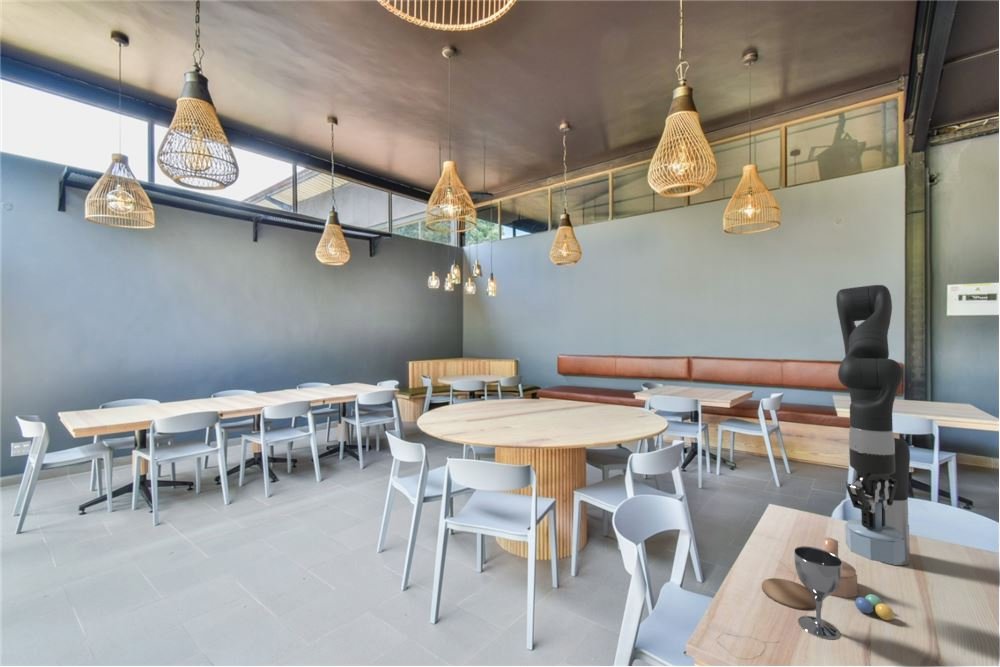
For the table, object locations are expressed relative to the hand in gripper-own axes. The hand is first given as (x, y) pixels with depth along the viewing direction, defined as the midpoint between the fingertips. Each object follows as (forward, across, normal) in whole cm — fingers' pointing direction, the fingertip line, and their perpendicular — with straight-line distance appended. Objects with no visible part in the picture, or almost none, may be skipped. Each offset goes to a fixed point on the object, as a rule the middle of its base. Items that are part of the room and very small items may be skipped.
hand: (873, 526), depth 91 cm
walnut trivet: (+19, +11, -11) cm, 25 cm away
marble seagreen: (+19, -1, -1) cm, 19 cm away
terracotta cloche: (+19, -2, -10) cm, 22 cm away
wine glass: (+19, +16, -1) cm, 25 cm away
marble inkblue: (+19, +2, -1) cm, 19 cm away
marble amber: (+19, 0, +2) cm, 19 cm away
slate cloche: (+6, 0, 0) cm, 6 cm away
